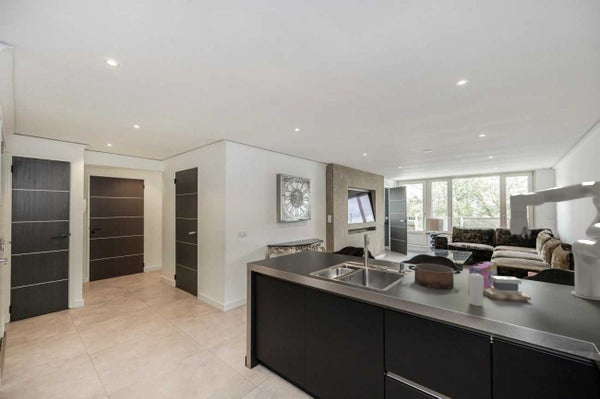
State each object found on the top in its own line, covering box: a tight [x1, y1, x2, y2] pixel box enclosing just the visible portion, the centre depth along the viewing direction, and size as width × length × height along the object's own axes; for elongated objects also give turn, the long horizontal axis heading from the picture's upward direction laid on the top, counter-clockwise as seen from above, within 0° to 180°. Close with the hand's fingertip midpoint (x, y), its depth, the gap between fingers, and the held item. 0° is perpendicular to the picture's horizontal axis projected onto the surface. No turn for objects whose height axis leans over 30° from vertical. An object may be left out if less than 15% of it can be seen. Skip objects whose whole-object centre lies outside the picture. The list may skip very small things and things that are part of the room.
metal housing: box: [490, 275, 523, 295], centre depth 141 cm, size 6×12×8 cm, turn 78°
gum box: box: [468, 260, 498, 288], centre depth 163 cm, size 24×8×14 cm, turn 125°
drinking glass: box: [467, 273, 484, 307], centre depth 132 cm, size 7×7×15 cm
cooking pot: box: [408, 263, 461, 291], centre depth 166 cm, size 30×22×11 cm
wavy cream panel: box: [483, 288, 532, 303], centre depth 141 cm, size 18×11×3 cm, turn 77°
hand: (520, 243), depth 150 cm, fingers open, 9 cm apart
